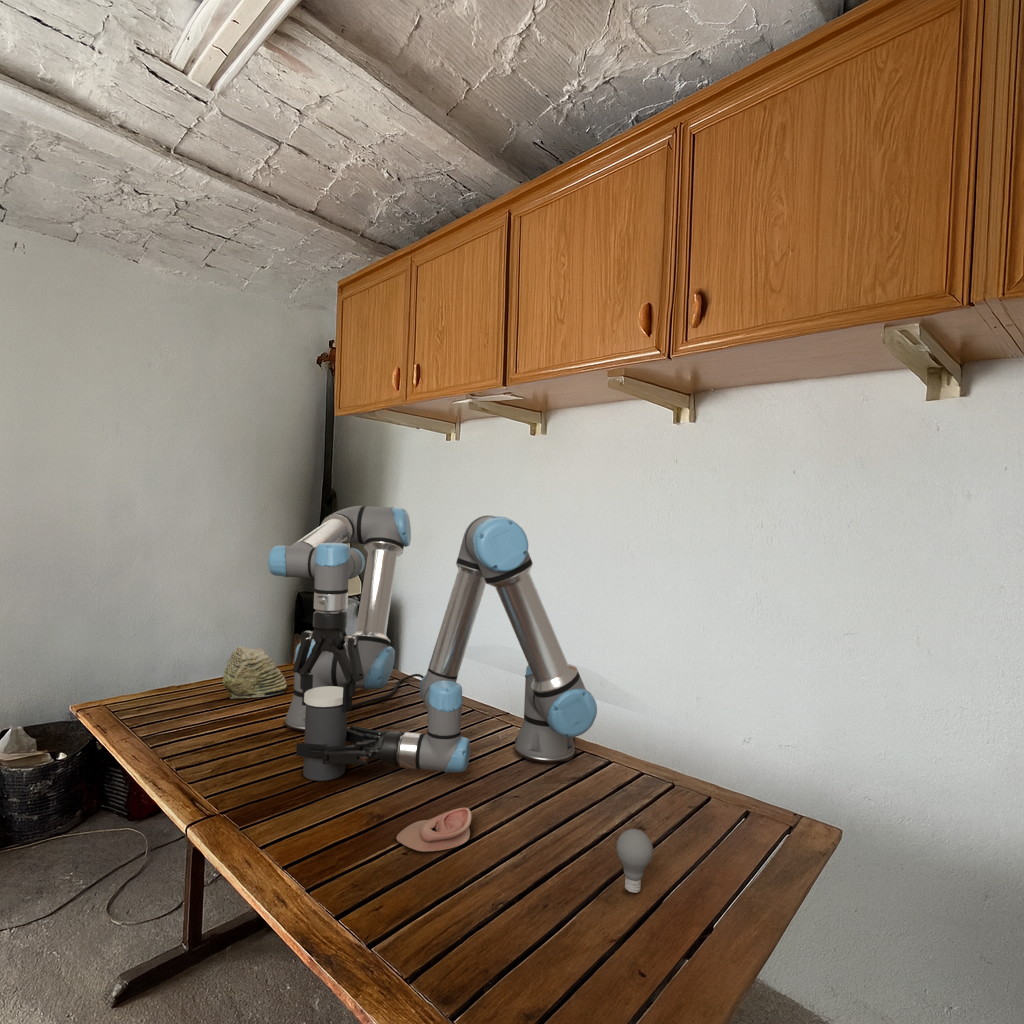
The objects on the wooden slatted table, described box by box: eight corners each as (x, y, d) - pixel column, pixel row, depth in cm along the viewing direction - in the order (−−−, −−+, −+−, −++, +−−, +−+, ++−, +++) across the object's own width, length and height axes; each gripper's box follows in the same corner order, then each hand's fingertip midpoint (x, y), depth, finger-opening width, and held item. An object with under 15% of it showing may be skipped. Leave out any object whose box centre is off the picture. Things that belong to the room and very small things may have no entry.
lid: (340, 690, 153) (340, 683, 153) (356, 703, 144) (356, 695, 144) (298, 696, 147) (298, 689, 147) (312, 709, 138) (312, 702, 138)
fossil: (218, 695, 195) (220, 647, 195) (278, 685, 208) (279, 640, 207) (228, 703, 189) (230, 653, 188) (289, 692, 201) (290, 645, 201)
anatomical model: (390, 825, 115) (412, 796, 127) (389, 846, 116) (411, 816, 127) (460, 836, 113) (476, 806, 124) (459, 858, 113) (476, 826, 124)
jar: (329, 783, 140) (332, 705, 140) (294, 776, 143) (297, 699, 143) (353, 767, 149) (356, 693, 148) (319, 760, 152) (322, 688, 151)
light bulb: (610, 879, 108) (613, 822, 108) (644, 879, 109) (647, 822, 109) (619, 902, 102) (622, 840, 102) (655, 901, 103) (658, 840, 103)
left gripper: (278, 608, 145) (274, 704, 145) (365, 618, 138) (360, 719, 138) (299, 603, 152) (295, 695, 153) (382, 612, 145) (378, 709, 145)
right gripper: (385, 787, 133) (283, 777, 135) (413, 747, 155) (325, 739, 157) (386, 752, 133) (285, 742, 135) (415, 716, 154) (326, 709, 157)
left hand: (326, 707), depth 145 cm, fingers closed on lid, 10 cm apart
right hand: (306, 740), depth 146 cm, fingers closed on jar, 9 cm apart
